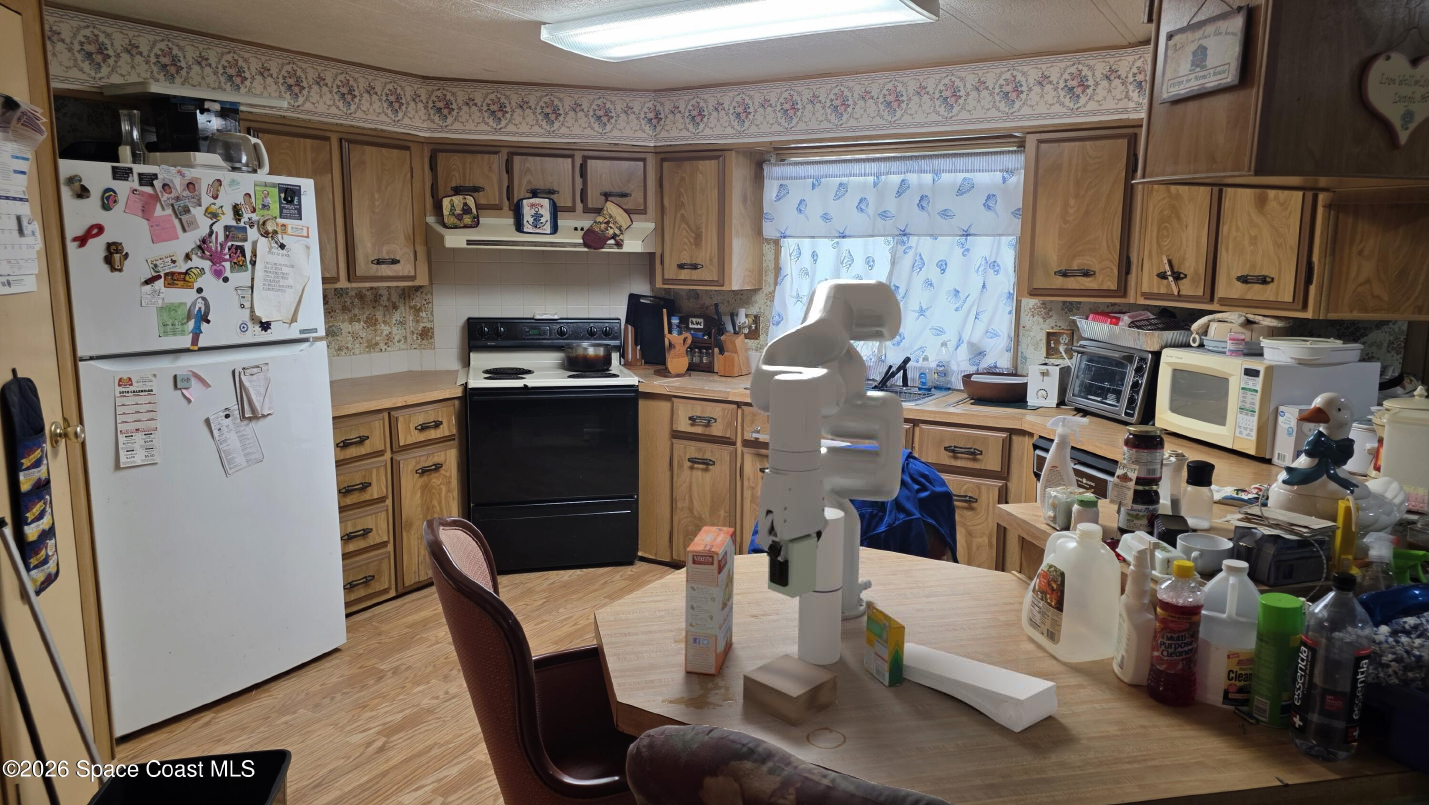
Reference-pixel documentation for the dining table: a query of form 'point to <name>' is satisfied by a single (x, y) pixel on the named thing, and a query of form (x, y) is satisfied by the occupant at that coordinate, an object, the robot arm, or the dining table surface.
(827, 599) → the cylindrical container
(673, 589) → the dining table surface
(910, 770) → the dining table surface
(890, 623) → the crayon box
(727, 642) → the cracker box
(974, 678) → the white arched block
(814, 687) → the walnut block
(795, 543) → the sage block
